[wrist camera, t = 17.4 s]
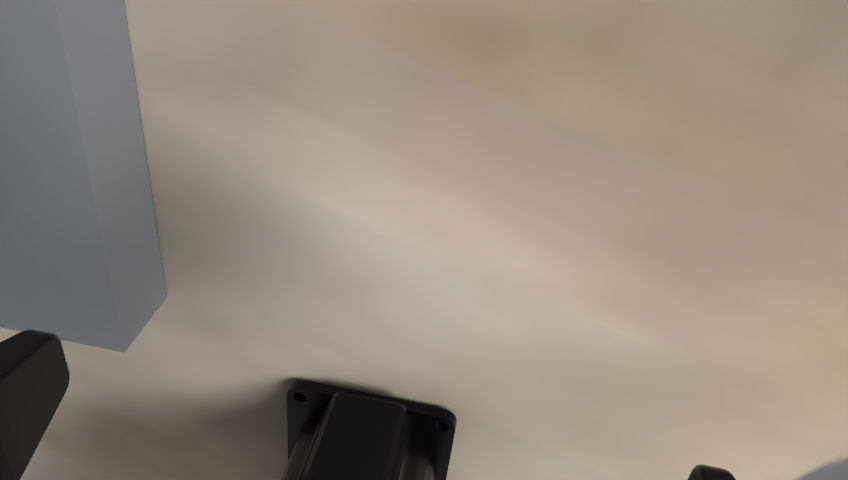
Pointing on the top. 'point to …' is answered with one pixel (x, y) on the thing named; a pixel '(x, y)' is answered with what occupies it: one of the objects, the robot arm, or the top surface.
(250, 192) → the top surface
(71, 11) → the socket plate
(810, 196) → the top surface
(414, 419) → the robot arm
